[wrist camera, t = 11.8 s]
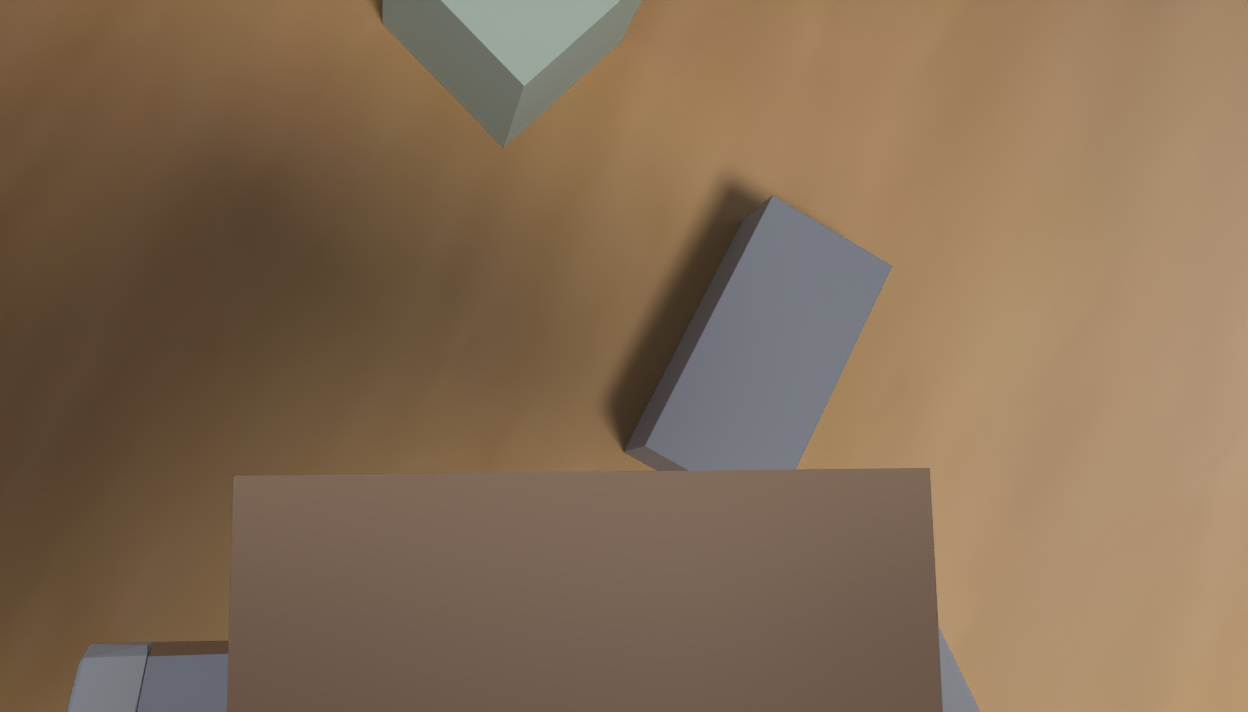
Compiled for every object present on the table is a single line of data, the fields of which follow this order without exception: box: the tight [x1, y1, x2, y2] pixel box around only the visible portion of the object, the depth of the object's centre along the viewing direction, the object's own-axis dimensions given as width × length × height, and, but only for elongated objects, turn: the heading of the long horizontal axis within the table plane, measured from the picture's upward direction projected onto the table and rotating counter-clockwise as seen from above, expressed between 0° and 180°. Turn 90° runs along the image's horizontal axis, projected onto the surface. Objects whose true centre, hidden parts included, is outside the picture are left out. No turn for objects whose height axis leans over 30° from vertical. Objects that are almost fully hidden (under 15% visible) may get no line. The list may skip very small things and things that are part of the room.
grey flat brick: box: [624, 196, 892, 471], centre depth 33 cm, size 8×4×3 cm, turn 152°
